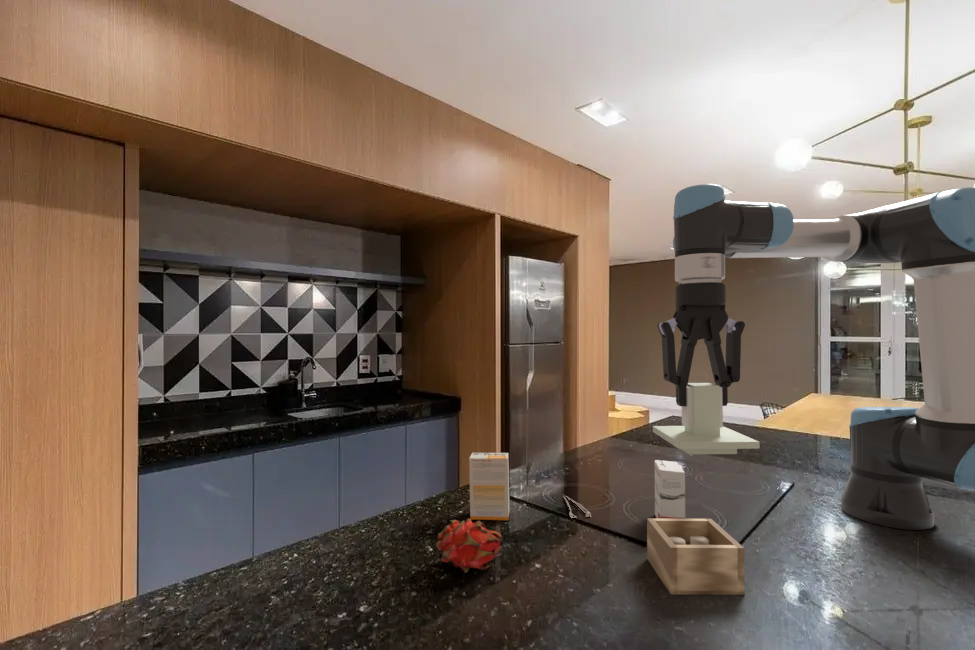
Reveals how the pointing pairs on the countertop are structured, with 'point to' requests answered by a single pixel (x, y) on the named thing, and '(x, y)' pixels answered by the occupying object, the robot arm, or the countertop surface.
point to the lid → (705, 427)
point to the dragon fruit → (468, 544)
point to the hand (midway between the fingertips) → (701, 425)
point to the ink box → (669, 490)
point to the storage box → (695, 557)
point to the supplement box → (489, 486)
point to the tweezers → (578, 506)
